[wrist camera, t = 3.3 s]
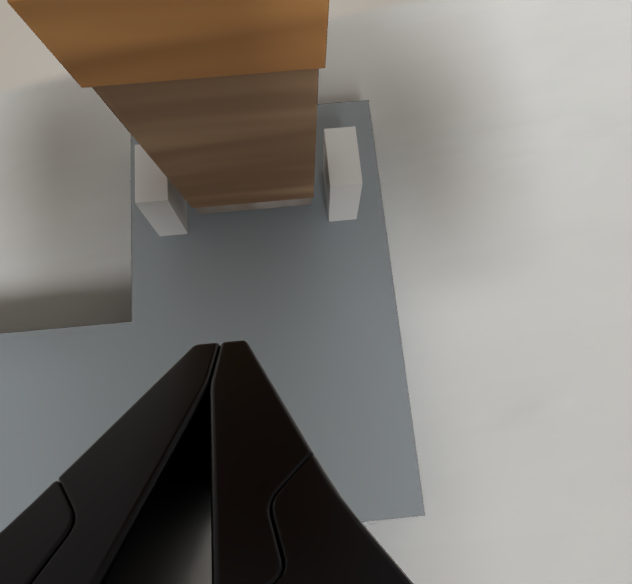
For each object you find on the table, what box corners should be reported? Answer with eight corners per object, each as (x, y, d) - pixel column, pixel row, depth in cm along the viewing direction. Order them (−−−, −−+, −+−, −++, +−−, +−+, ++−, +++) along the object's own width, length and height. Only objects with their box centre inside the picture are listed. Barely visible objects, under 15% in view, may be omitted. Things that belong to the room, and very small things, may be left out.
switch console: (414, 508, 19) (444, 527, 15) (-279, 577, 19) (-474, 620, 14) (364, 129, 23) (375, 49, 19) (-209, 177, 23) (-343, 107, 18)
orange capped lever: (316, 209, 20) (330, -24, 7) (196, 219, 20) (7, 1, 7) (312, 165, 20) (319, -136, 8) (193, 175, 20) (2, -112, 7)
